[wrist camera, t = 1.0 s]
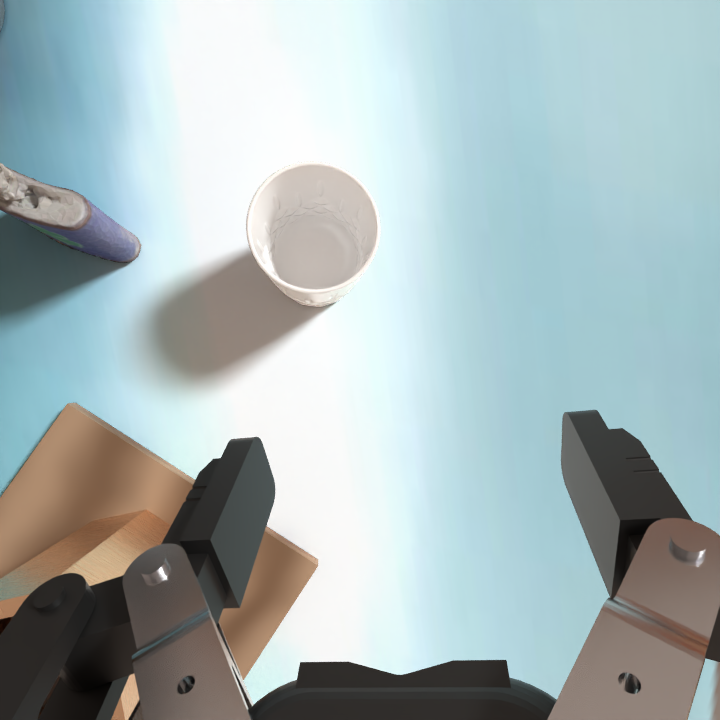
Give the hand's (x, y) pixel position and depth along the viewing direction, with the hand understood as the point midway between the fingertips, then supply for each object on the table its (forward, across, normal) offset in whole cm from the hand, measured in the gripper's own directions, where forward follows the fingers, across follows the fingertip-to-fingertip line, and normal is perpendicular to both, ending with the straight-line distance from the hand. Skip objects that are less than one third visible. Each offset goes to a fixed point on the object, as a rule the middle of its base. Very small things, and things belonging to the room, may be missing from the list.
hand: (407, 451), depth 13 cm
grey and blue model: (+26, +24, -3) cm, 36 cm away
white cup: (+27, +8, +3) cm, 28 cm away
